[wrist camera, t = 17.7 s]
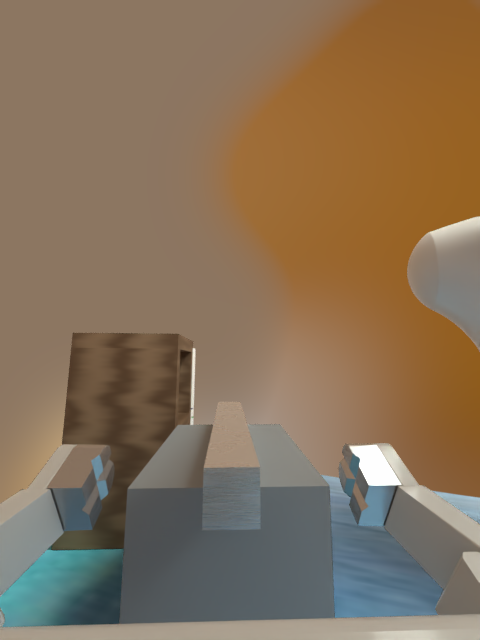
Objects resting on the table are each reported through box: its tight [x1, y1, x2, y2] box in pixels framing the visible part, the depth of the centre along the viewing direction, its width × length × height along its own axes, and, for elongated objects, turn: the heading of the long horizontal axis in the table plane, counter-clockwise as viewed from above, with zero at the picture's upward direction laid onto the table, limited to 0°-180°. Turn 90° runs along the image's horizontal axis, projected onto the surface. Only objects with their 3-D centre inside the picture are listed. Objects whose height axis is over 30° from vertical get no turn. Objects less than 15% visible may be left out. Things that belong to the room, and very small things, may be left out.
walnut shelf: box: [52, 333, 193, 550], centre depth 42 cm, size 14×15×26 cm
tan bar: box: [202, 402, 261, 530], centre depth 22 cm, size 3×20×3 cm, turn 3°
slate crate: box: [119, 424, 335, 624], centre depth 23 cm, size 12×16×15 cm
